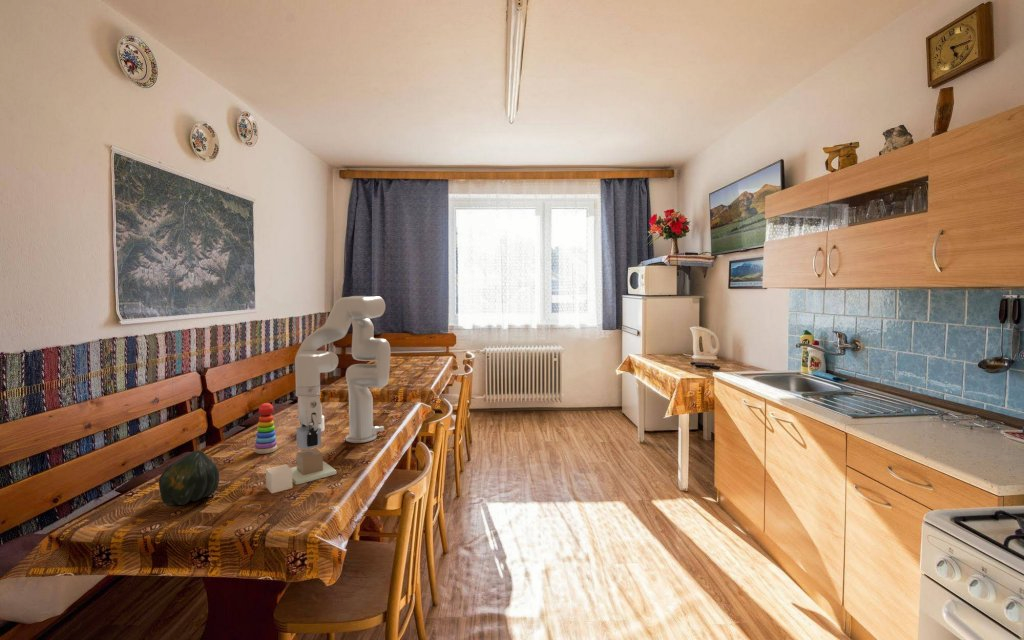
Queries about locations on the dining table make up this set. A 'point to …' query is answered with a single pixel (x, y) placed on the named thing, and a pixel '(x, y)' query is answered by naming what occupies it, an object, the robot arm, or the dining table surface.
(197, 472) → the squash
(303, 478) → the baseplate
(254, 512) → the dining table surface
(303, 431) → the slate brick
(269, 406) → the stacking toy
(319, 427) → the cylinder with rectangular tab
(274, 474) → the cream brick
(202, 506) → the dining table surface
